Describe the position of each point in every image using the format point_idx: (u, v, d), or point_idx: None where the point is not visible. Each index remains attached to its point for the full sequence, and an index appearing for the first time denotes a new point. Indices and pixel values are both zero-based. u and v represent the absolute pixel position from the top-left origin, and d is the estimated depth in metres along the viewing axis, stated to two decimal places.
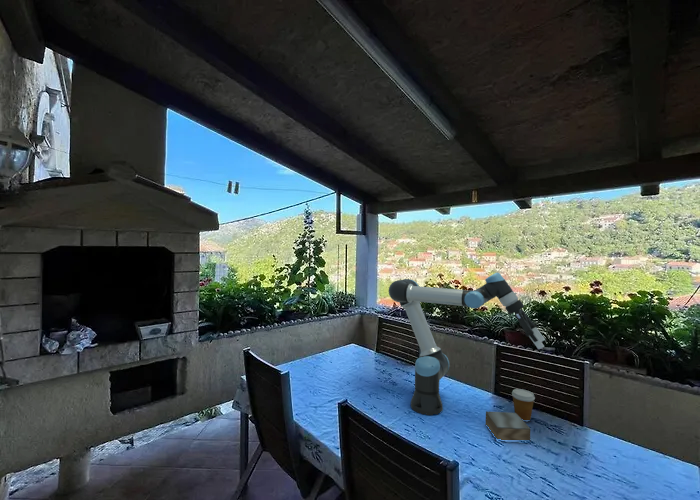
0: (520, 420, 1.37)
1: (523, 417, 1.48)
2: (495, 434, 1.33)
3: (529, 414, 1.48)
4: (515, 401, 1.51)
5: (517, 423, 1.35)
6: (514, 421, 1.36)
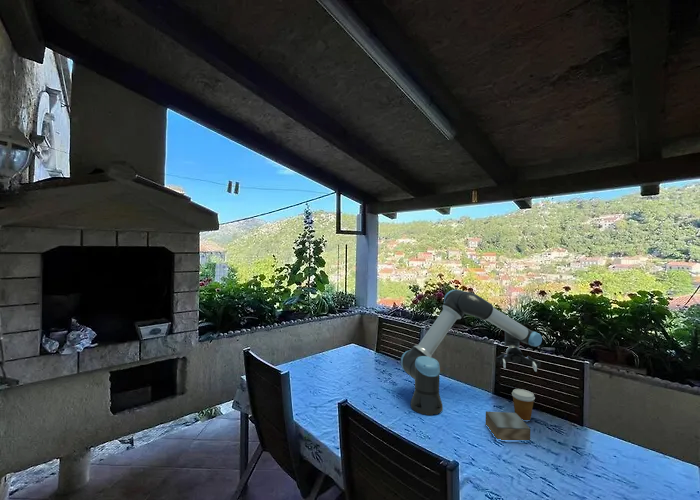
0: (520, 420, 1.37)
1: (523, 417, 1.48)
2: (495, 434, 1.33)
3: (529, 414, 1.48)
4: (515, 401, 1.51)
5: (517, 423, 1.35)
6: (514, 421, 1.36)
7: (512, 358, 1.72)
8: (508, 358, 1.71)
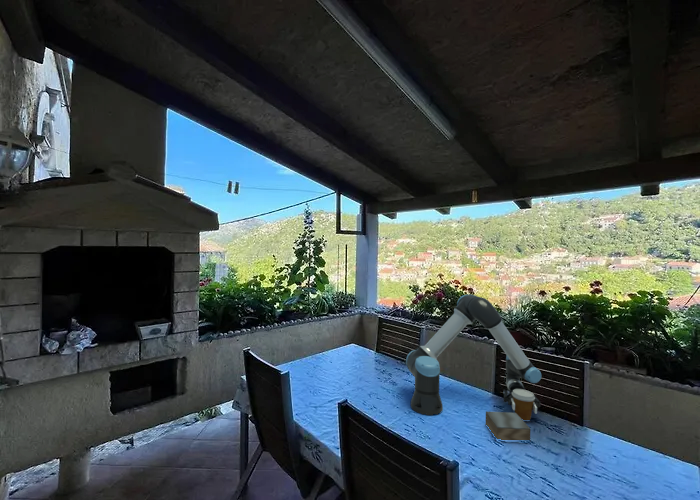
0: (520, 420, 1.37)
1: (523, 417, 1.48)
2: (495, 434, 1.33)
3: (529, 414, 1.48)
4: (515, 401, 1.51)
5: (517, 423, 1.35)
6: (514, 421, 1.36)
7: None
8: None
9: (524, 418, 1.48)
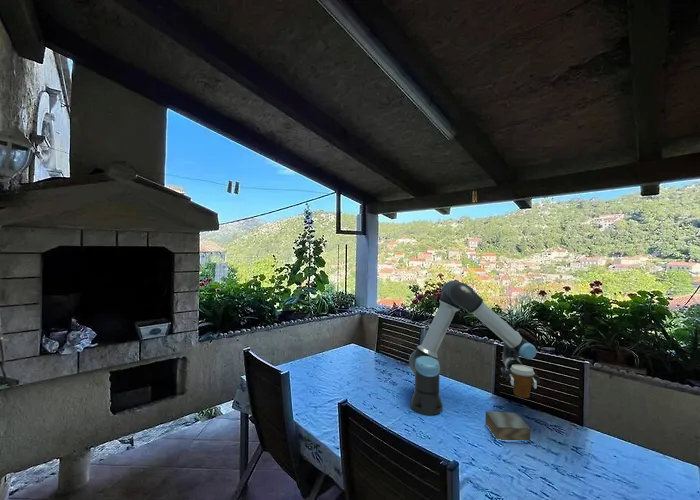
0: (520, 420, 1.37)
1: (522, 392, 1.43)
2: (495, 434, 1.33)
3: (528, 389, 1.43)
4: (514, 376, 1.45)
5: (517, 423, 1.35)
6: (514, 421, 1.36)
7: None
8: None
9: (523, 394, 1.43)
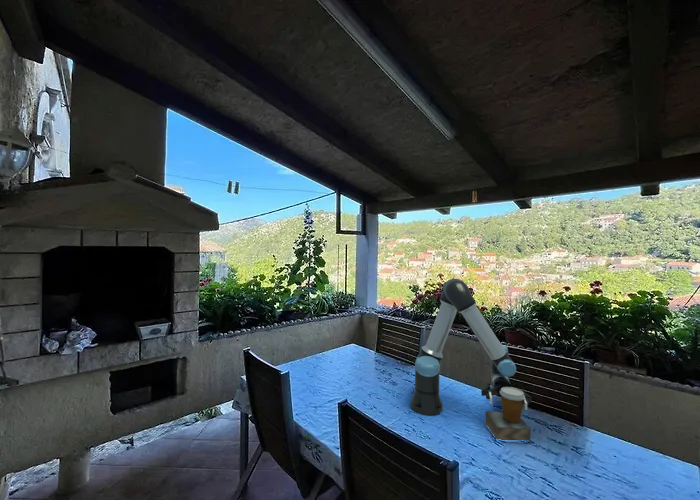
0: (520, 420, 1.37)
1: (513, 417, 1.35)
2: (495, 434, 1.33)
3: (518, 414, 1.35)
4: (503, 400, 1.37)
5: (517, 423, 1.35)
6: None
7: (499, 390, 1.47)
8: (495, 390, 1.46)
9: (513, 419, 1.35)
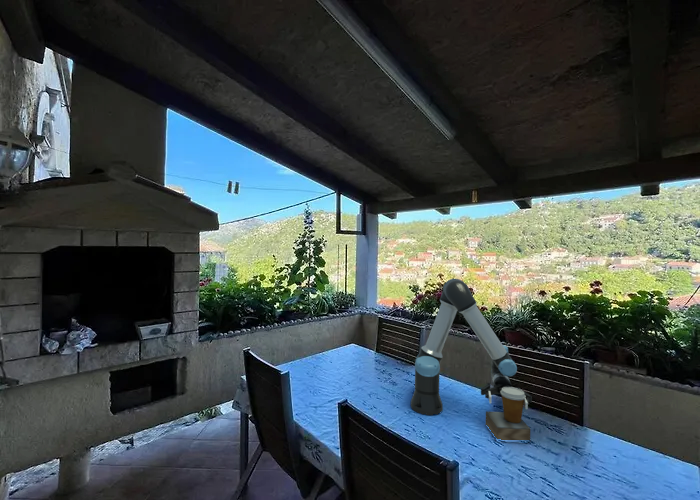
0: None
1: (514, 417, 1.35)
2: (495, 434, 1.33)
3: (519, 414, 1.35)
4: (504, 400, 1.37)
5: (517, 423, 1.35)
6: None
7: (499, 390, 1.48)
8: (495, 390, 1.47)
9: (515, 419, 1.35)
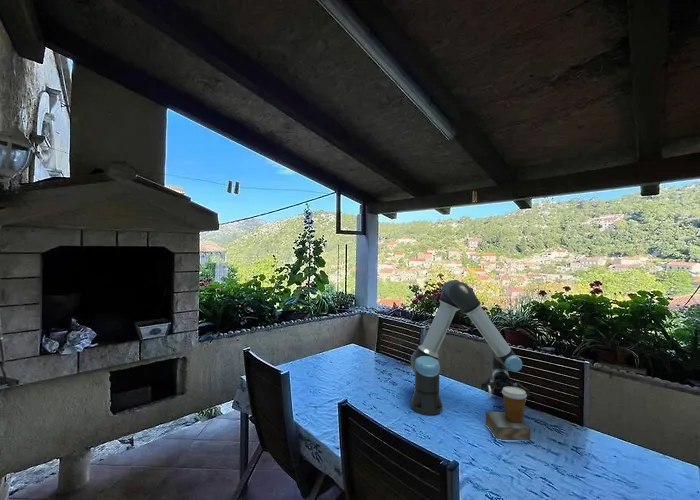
0: None
1: (517, 417, 1.35)
2: (495, 434, 1.33)
3: (522, 413, 1.35)
4: (507, 400, 1.37)
5: (517, 423, 1.35)
6: None
7: (499, 384, 1.54)
8: (494, 384, 1.53)
9: (518, 418, 1.35)
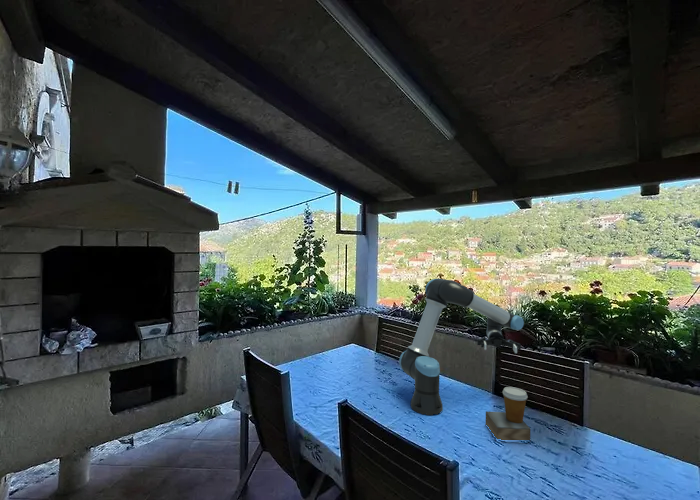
0: None
1: (517, 418, 1.35)
2: (495, 434, 1.33)
3: (522, 414, 1.35)
4: (508, 401, 1.36)
5: (517, 423, 1.35)
6: None
7: (493, 341, 1.71)
8: (489, 341, 1.70)
9: (518, 419, 1.35)
